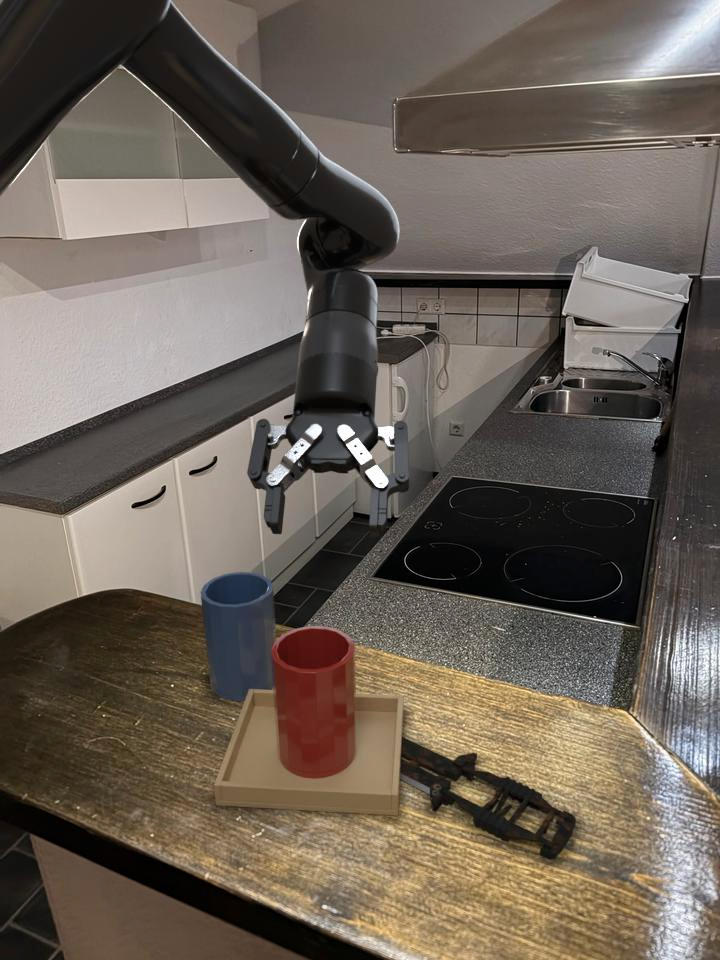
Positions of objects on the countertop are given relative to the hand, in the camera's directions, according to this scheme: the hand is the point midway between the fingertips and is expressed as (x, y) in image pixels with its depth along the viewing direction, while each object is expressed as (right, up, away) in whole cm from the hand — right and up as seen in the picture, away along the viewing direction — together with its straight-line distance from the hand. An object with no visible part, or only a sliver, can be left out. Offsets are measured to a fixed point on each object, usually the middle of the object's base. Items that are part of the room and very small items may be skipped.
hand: (324, 532), depth 66 cm
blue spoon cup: (-8, -15, +8) cm, 19 cm away
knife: (+8, -20, -4) cm, 21 cm away
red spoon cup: (0, -18, -2) cm, 18 cm away
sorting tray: (0, -18, -2) cm, 19 cm away
